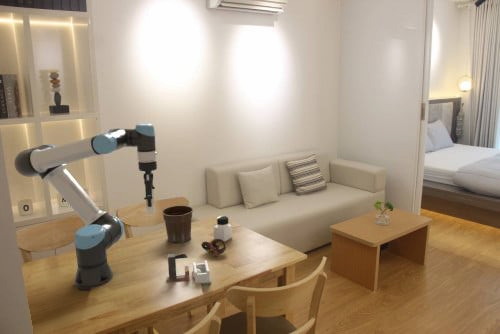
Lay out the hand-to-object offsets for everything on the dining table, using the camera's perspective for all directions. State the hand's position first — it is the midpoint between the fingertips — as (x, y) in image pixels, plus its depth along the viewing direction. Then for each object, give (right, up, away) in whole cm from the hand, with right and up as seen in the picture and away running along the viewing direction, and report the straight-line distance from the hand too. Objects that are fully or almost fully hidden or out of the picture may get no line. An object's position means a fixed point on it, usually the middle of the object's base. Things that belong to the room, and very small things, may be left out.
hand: (150, 208), depth 173 cm
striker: (+13, -29, -5) cm, 32 cm away
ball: (+20, -27, -4) cm, 34 cm away
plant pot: (+5, -21, +40) cm, 45 cm away
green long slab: (+11, -30, -6) cm, 33 cm away
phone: (+11, -27, +13) cm, 32 cm away
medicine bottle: (+29, -20, +40) cm, 53 cm away
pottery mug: (+25, -24, +23) cm, 42 cm away
